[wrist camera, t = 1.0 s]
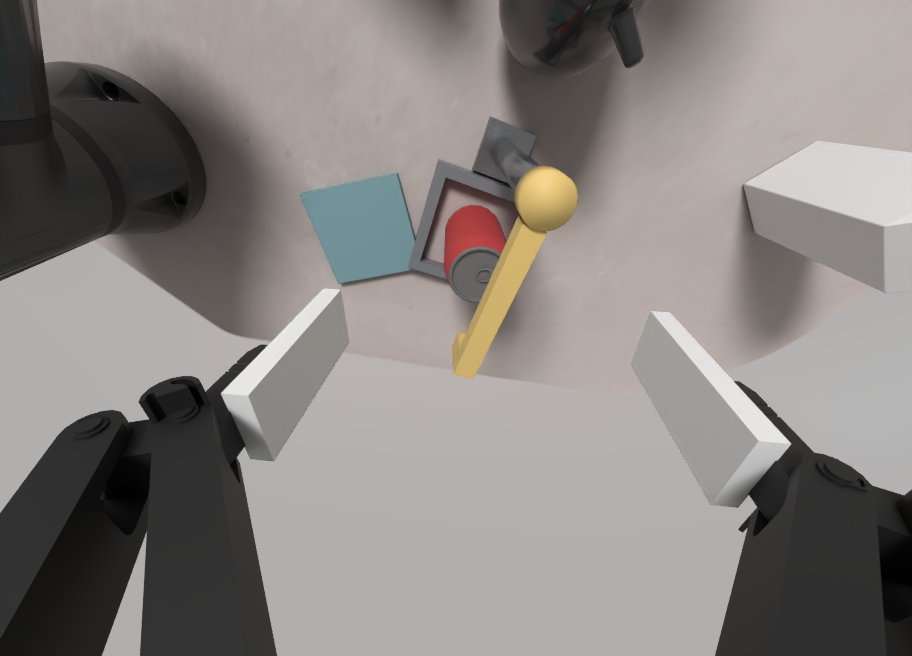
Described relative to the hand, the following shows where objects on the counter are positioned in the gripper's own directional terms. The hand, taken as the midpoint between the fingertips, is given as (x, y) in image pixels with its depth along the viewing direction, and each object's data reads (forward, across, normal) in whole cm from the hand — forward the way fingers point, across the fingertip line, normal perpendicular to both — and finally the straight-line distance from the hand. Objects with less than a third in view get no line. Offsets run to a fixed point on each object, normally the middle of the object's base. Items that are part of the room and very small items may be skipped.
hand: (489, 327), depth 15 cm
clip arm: (+12, +1, -2) cm, 12 cm away
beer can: (+28, -2, -4) cm, 28 cm away
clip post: (+28, +1, +5) cm, 28 cm away
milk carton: (+31, +33, +2) cm, 45 cm away
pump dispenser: (+28, +4, +16) cm, 32 cm away
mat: (+26, -14, -4) cm, 30 cm away
